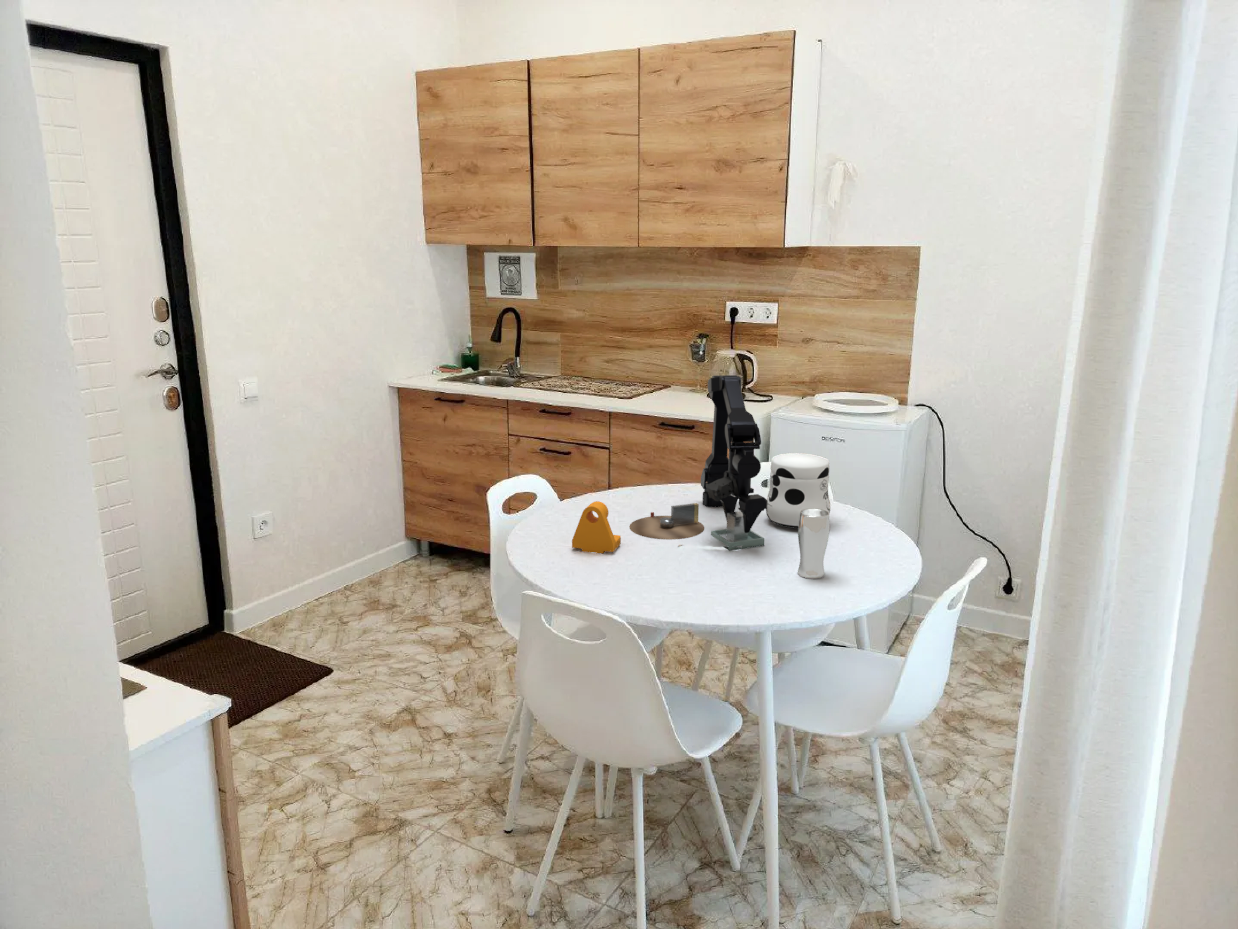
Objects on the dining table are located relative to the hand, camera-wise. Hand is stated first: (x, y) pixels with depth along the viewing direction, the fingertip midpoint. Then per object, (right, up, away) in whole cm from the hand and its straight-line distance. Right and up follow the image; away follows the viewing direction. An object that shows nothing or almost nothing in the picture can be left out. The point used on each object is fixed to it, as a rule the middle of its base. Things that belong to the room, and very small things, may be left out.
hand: (737, 527), depth 222 cm
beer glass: (+14, -10, -21) cm, 27 cm away
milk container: (+19, 0, +16) cm, 25 cm away
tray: (0, -4, +1) cm, 4 cm away
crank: (-14, 0, +11) cm, 18 cm away
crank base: (-18, -2, +10) cm, 20 cm away
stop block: (0, -3, +1) cm, 4 cm away
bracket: (-36, -5, -3) cm, 36 cm away
